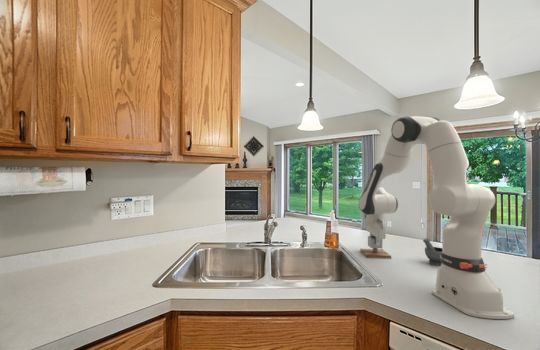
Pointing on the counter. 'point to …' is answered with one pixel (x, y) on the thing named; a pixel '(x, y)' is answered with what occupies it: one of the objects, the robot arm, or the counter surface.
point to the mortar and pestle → (432, 253)
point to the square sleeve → (373, 242)
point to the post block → (375, 253)
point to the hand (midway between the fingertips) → (375, 243)
